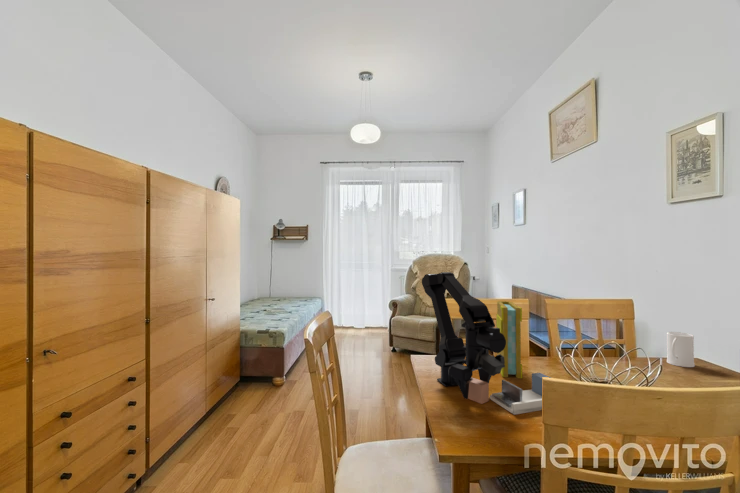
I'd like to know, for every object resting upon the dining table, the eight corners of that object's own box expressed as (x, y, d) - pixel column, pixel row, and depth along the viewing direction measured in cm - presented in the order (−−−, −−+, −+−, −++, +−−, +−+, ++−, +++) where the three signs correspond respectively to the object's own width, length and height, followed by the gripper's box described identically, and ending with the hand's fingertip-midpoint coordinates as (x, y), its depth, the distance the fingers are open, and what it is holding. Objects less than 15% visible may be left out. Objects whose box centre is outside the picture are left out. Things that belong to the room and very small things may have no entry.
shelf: (489, 398, 108) (489, 377, 108) (539, 391, 114) (539, 371, 114) (514, 414, 98) (513, 391, 98) (568, 405, 103) (567, 383, 104)
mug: (684, 370, 134) (683, 338, 134) (657, 363, 142) (657, 333, 142) (699, 365, 139) (698, 335, 140) (672, 359, 147) (672, 330, 147)
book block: (462, 396, 110) (462, 378, 110) (469, 393, 113) (469, 376, 113) (481, 404, 105) (481, 385, 105) (488, 401, 107) (488, 383, 107)
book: (522, 378, 126) (521, 308, 126) (502, 376, 127) (501, 307, 127) (512, 363, 142) (512, 301, 143) (495, 362, 144) (495, 301, 144)
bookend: (491, 395, 108) (491, 381, 108) (504, 393, 109) (503, 379, 109) (509, 406, 100) (509, 391, 100) (522, 404, 101) (522, 389, 101)
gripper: (478, 355, 97) (479, 412, 97) (516, 344, 108) (516, 395, 108) (447, 347, 106) (447, 399, 106) (484, 337, 117) (484, 384, 117)
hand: (475, 394), depth 109 cm, fingers open, 9 cm apart
